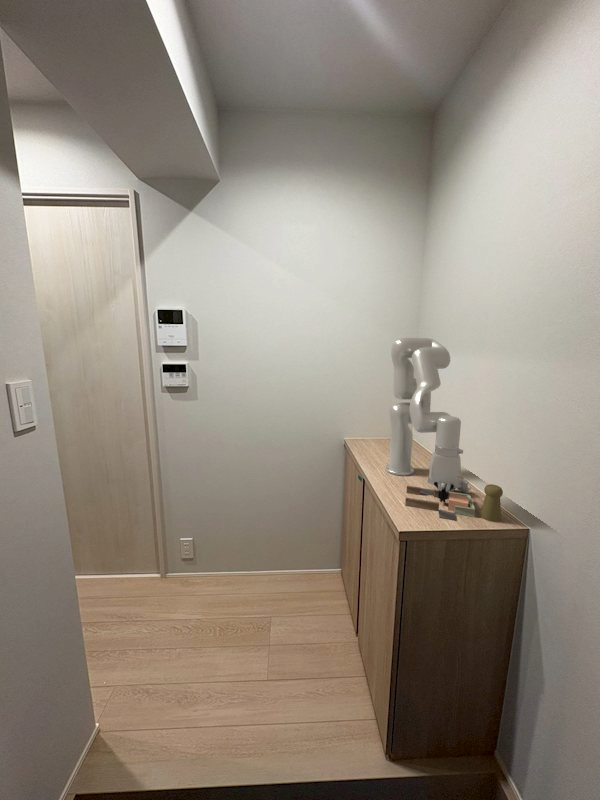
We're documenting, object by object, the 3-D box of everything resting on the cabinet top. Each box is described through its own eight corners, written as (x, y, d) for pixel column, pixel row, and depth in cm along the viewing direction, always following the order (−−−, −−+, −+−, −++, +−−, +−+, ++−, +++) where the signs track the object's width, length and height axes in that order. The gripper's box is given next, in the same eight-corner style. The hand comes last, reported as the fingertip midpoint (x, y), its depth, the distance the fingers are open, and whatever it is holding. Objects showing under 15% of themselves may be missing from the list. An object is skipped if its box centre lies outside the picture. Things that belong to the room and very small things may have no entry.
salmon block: (448, 503, 117) (449, 493, 117) (467, 507, 115) (468, 496, 114) (447, 510, 112) (448, 499, 112) (467, 514, 109) (468, 503, 109)
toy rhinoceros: (467, 504, 122) (478, 485, 121) (437, 490, 123) (448, 471, 122) (461, 495, 130) (471, 477, 128) (433, 482, 130) (443, 464, 129)
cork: (476, 513, 110) (479, 482, 109) (493, 512, 111) (496, 482, 109) (487, 522, 104) (491, 490, 103) (505, 521, 105) (509, 489, 103)
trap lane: (407, 486, 131) (407, 480, 131) (467, 495, 124) (468, 489, 123) (404, 511, 110) (404, 504, 110) (476, 524, 103) (477, 516, 103)
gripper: (468, 450, 115) (464, 499, 117) (423, 446, 120) (420, 493, 122) (471, 457, 108) (467, 508, 110) (423, 451, 113) (420, 501, 115)
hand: (442, 500), depth 116 cm, fingers closed
